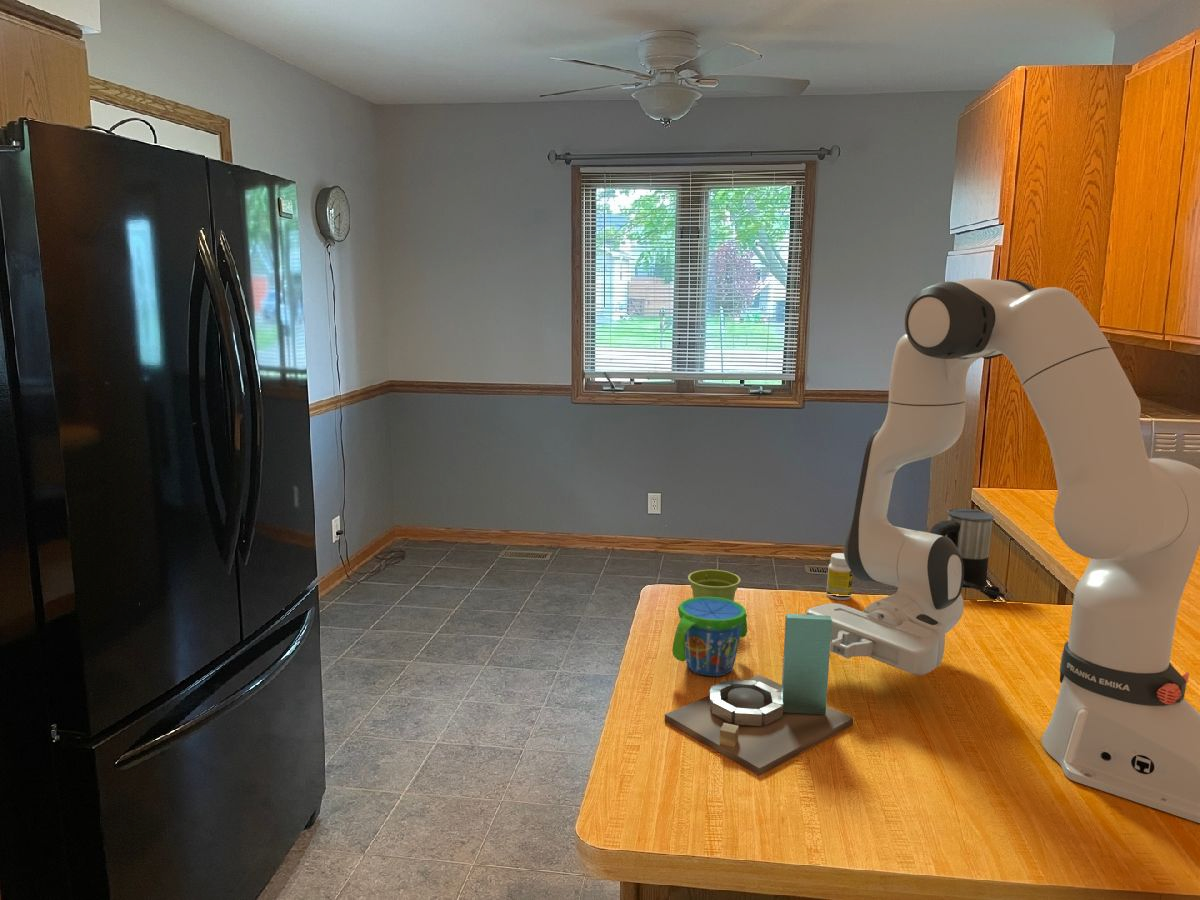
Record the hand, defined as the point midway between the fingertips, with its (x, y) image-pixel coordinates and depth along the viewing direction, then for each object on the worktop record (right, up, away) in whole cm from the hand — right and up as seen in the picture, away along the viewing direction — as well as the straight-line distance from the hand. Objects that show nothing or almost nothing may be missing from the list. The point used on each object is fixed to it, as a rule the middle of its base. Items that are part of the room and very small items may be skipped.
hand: (838, 650), depth 120 cm
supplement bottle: (+13, 0, +45) cm, 47 cm away
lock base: (-12, -9, -4) cm, 16 cm away
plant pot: (-14, -3, +31) cm, 34 cm away
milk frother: (+42, 0, +50) cm, 66 cm away
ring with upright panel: (-12, -8, -3) cm, 14 cm away
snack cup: (-17, -6, +13) cm, 22 cm away
